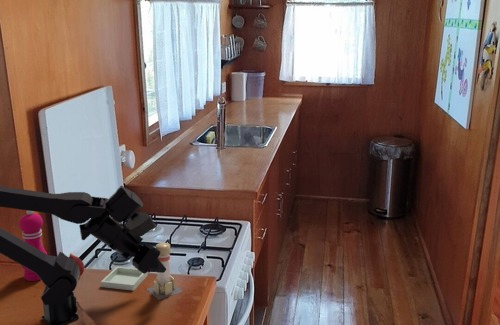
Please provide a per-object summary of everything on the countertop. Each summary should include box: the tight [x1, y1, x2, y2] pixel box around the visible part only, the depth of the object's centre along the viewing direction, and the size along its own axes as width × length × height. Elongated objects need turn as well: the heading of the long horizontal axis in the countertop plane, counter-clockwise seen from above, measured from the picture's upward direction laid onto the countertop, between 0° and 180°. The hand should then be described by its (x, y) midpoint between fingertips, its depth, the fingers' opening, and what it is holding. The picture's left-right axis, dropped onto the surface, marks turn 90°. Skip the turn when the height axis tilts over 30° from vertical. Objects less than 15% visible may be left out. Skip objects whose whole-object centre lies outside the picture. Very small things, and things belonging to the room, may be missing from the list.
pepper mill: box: [18, 210, 48, 282], centre depth 136 cm, size 7×7×20 cm
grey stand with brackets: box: [146, 275, 184, 300], centre depth 127 cm, size 7×7×4 cm
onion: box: [68, 252, 85, 278], centre depth 135 cm, size 6×6×8 cm
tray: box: [100, 266, 149, 292], centre depth 133 cm, size 9×9×3 cm
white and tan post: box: [155, 242, 171, 294], centre depth 126 cm, size 4×4×12 cm
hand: (156, 264), depth 124 cm, fingers open, 9 cm apart
